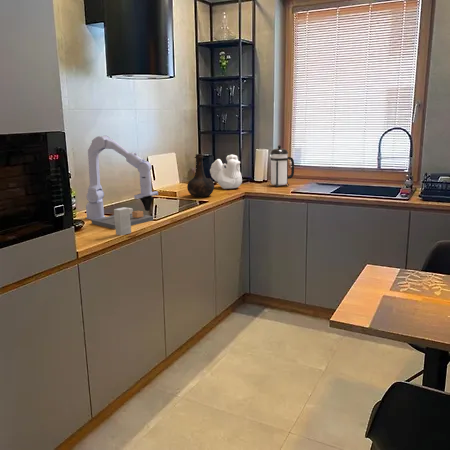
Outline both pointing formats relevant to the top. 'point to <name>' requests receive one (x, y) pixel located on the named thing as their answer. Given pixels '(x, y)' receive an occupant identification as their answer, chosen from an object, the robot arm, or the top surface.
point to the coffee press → (280, 167)
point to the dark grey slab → (110, 221)
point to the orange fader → (137, 214)
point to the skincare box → (122, 221)
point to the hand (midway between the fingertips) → (147, 210)
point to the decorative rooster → (227, 172)
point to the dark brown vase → (200, 180)
